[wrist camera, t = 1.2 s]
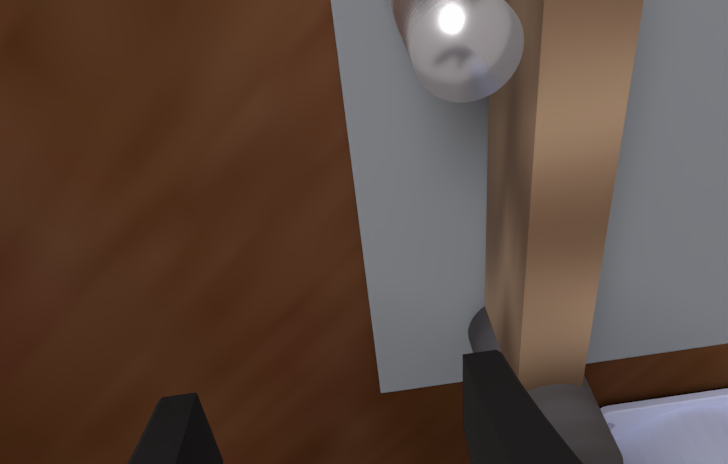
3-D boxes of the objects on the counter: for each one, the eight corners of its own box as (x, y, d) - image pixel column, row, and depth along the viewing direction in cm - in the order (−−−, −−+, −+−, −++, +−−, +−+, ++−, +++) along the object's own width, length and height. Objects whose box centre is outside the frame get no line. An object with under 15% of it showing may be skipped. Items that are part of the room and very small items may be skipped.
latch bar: (551, 350, 25) (615, 496, 20) (468, 362, 25) (512, 511, 20) (606, -151, 15) (760, -98, 10) (466, -133, 15) (554, -71, 10)
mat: (823, 323, 26) (828, 328, 26) (379, 387, 26) (380, 393, 26) (1120, -325, 14) (1135, -326, 14) (302, -222, 14) (302, -222, 14)
